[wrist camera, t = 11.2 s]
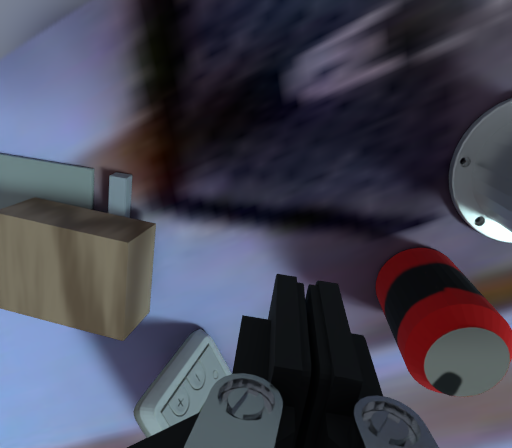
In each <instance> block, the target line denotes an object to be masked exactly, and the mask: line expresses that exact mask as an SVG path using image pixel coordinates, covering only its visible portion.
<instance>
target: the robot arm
mask: <svg viewBox="0 0 512 448" xmlns="http://www.w3.org/2000/svg"><path fill="white" fill-rule="evenodd" d="M462 158H464V161H463V162H462V163H460V160H461V159H462ZM449 191H450V194H451V198H452V202H453V204H454V206H455V208H456V210H457V212H458V213H459V215H460V216H461V217H462V218H463V219H464V221H465V222H466V223H467V224H468V225H470V226H471V227H472V228H473V229H474V230H476V231H478V232H479V233H481V234H482V235H484V236H486V237H488V238H491V239H494V240H497V241H501V242H507V243H512V98H511V99H508V100H506V101H503V102H501V103H499V104H497V105H496V106H494V107H492V108H491V109H489V110H488V111H486V112H485V113H484V114H483V115H481V116H480V117H479V118H478V119H477V120H476V121H475V122H473V124H472V125H471V126H470V127H469V129H468V130H467V131H466V132H465V133H464V135H463V136H462V138H461V140H460V142H459V143H458V145H457V147H456V149H455V152H454V154H453V157H452V160H451V164H450V170H449ZM477 217H478V219H477V220H476V221H475V219H476V218H477ZM127 448H439V447H438V445H437V443H436V442H435V440H434V438H433V437H432V435H431V433H430V431H429V430H428V428H427V426H426V425H425V423H424V422H423V420H422V419H421V418H420V417H419V415H418V414H416V413H415V412H414V411H413V410H412V409H411V408H409V407H408V406H406V405H404V404H403V403H401V402H399V401H396V400H394V399H391V398H388V397H383V394H382V391H381V388H380V385H379V382H378V378H377V375H376V372H375V369H374V365H373V362H372V359H371V356H370V353H369V349H368V346H367V343H366V340H365V338H364V336H363V335H358V334H352V333H351V332H350V328H349V324H348V320H347V317H346V313H345V309H344V305H343V301H342V298H341V294H340V290H339V286H338V284H336V283H330V282H323V281H317V282H316V285H309V286H308V289H307V294H306V298H305V293H304V284H303V283H297V277H293V276H287V275H281V274H277V275H276V279H275V284H274V290H273V295H272V301H271V306H270V311H269V317H268V320H267V319H261V318H255V317H249V316H243V315H242V321H241V327H240V333H239V338H238V344H237V350H236V356H235V361H234V367H233V373H232V374H231V375H228V376H225V377H223V378H221V379H220V380H218V381H217V382H216V383H215V384H214V385H213V387H212V388H211V390H210V392H209V395H208V397H207V399H206V401H205V403H204V405H203V407H202V410H201V412H199V413H197V414H195V415H193V416H191V417H189V418H187V419H185V420H183V421H181V422H178V423H176V424H174V425H172V426H170V427H168V428H166V429H164V430H162V431H160V432H158V433H156V434H154V435H152V436H150V437H148V438H146V439H144V440H142V441H140V442H138V443H136V444H134V445H131V446H129V447H127Z"/></svg>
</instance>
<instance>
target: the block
mask: <svg viewBox="0 0 512 448" xmlns="http://www.w3.org/2000/svg"><path fill="white" fill-rule="evenodd" d="M155 229H156V224H155V223H150V222H146V221H141V220H137V219H132V218H127V217H123V216H118V215H114V214H109V213H104V212H100V211H95V210H91V209H86V208H82V207H77V206H72V205H68V204H63V203H59V202H54V201H49V200H45V199H40V198H36V197H34V198H31V199H28V200H25V201H23V202H20V203H17V204H14V205H11V206H8V207H5V208H2V209H0V308H1V309H4V310H8V311H12V312H16V313H19V314H23V315H27V316H31V317H34V318H38V319H42V320H46V321H50V322H53V323H57V324H61V325H65V326H68V327H72V328H76V329H80V330H83V331H87V332H91V333H95V334H98V335H102V336H106V337H110V338H114V339H117V340H121V341H124V340H125V339H126V338H127V336H128V335H129V334H130V333H131V332H132V331H133V330H134V329H135V328H136V326H137V325H138V324H139V323H140V322H141V321H142V320H143V319H144V318H145V316H146V315H147V314H148V313H149V311H150V297H151V284H152V270H153V256H154V243H155Z"/></svg>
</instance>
